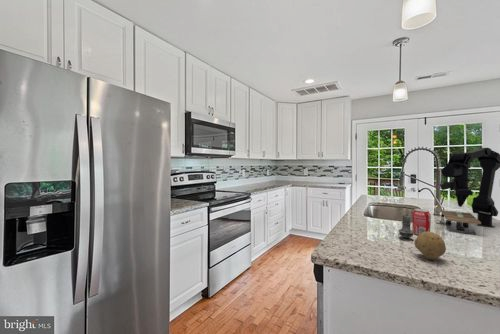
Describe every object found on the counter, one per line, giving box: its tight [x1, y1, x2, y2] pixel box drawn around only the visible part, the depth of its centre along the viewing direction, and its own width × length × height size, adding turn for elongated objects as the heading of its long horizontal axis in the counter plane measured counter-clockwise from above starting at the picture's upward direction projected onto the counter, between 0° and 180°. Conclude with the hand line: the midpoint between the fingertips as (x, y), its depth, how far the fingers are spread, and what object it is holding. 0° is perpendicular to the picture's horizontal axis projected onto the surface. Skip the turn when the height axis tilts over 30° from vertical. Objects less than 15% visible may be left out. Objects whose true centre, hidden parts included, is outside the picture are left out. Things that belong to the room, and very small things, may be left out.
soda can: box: [411, 208, 432, 236], centre depth 110 cm, size 7×7×12 cm
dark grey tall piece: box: [398, 212, 415, 242], centre depth 104 cm, size 6×6×12 cm
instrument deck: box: [441, 210, 481, 225], centre depth 120 cm, size 22×12×2 cm, turn 146°
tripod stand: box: [444, 219, 477, 236], centre depth 120 cm, size 16×10×5 cm, turn 146°
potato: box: [413, 231, 447, 261], centre depth 83 cm, size 9×9×10 cm
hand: (459, 206), depth 119 cm, fingers closed
